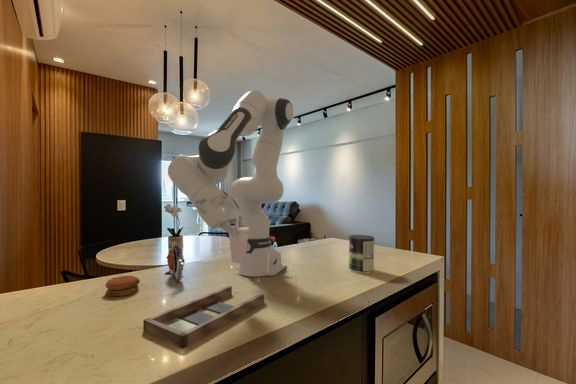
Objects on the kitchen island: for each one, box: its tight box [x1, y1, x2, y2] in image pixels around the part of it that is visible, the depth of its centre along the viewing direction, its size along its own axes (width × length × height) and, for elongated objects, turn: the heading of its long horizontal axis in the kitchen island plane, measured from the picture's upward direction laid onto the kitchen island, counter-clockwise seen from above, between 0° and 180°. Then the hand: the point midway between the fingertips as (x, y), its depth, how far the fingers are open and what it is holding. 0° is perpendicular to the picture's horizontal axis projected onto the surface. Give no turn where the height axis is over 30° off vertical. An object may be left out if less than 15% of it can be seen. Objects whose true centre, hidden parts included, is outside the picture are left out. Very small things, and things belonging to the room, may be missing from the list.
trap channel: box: [142, 285, 265, 349], centre depth 71 cm, size 28×14×2 cm, turn 149°
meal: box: [164, 240, 185, 284], centre depth 103 cm, size 15×4×13 cm, turn 36°
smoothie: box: [228, 214, 250, 264], centre depth 80 cm, size 6×6×14 cm
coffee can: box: [348, 234, 375, 274], centre depth 115 cm, size 10×10×14 cm
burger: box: [105, 275, 140, 297], centre depth 88 cm, size 10×9×5 cm
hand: (240, 233), depth 80 cm, fingers closed on smoothie, 6 cm apart
